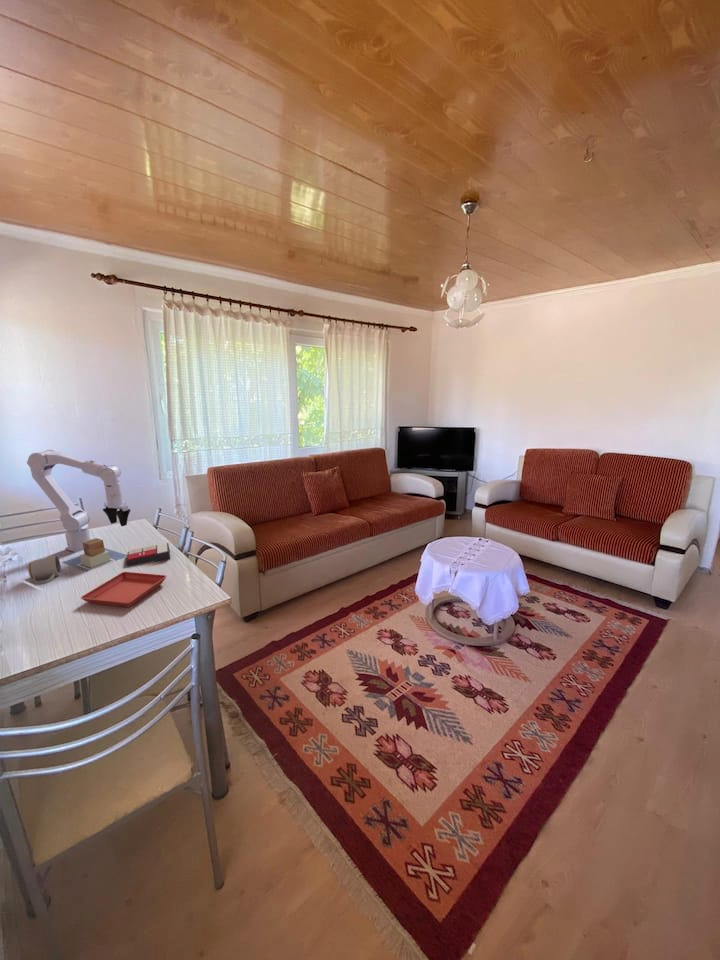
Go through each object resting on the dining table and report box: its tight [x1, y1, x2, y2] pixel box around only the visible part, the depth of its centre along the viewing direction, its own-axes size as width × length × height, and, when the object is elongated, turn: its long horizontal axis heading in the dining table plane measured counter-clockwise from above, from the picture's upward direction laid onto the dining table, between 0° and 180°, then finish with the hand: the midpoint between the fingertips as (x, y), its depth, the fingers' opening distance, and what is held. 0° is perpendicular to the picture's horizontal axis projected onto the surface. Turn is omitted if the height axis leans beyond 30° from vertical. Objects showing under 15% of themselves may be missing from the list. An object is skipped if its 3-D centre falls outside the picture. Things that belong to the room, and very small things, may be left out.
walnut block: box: [82, 537, 105, 557], centre depth 150 cm, size 5×5×5 cm
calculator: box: [125, 542, 171, 567], centre depth 156 cm, size 11×4×15 cm
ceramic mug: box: [28, 554, 62, 585], centre depth 139 cm, size 11×8×8 cm
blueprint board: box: [62, 547, 127, 572], centre depth 155 cm, size 18×16×1 cm
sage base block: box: [79, 551, 110, 568], centre depth 151 cm, size 7×7×4 cm
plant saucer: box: [80, 571, 167, 608], centre depth 129 cm, size 18×18×3 cm
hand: (118, 524), depth 168 cm, fingers open, 7 cm apart
